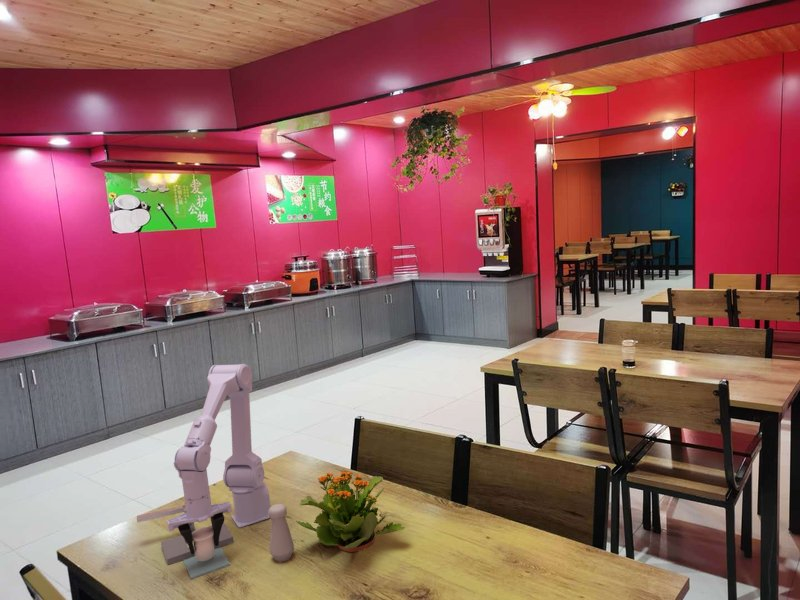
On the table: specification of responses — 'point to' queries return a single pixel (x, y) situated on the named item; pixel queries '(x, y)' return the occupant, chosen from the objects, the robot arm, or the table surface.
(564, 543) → the table surface
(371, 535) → the potted flower
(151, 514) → the clip
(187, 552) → the socket block
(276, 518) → the salt shaker
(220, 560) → the mat
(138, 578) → the table surface
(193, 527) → the clip post
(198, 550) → the plug
